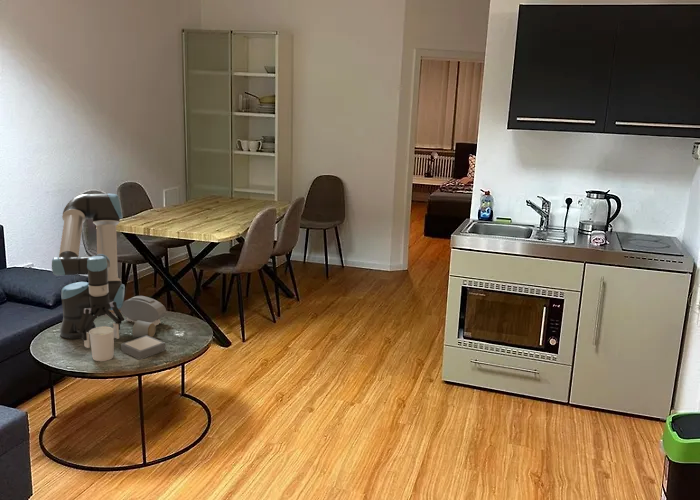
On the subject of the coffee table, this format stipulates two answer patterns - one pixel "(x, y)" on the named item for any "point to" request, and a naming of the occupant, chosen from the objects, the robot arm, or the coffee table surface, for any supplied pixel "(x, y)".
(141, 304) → the alarm clock
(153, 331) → the ceramic mug
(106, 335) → the candle holder
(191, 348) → the coffee table surface
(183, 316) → the coffee table surface
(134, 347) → the pedestal
